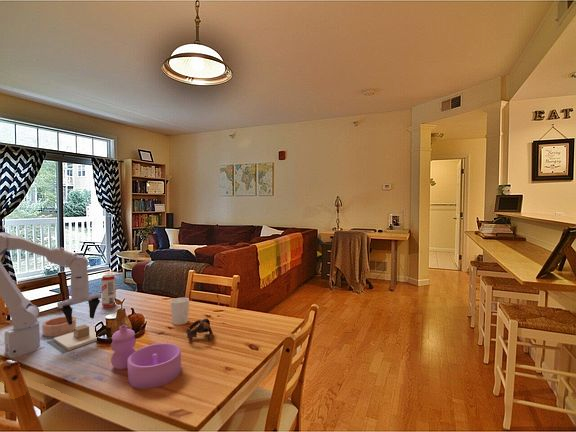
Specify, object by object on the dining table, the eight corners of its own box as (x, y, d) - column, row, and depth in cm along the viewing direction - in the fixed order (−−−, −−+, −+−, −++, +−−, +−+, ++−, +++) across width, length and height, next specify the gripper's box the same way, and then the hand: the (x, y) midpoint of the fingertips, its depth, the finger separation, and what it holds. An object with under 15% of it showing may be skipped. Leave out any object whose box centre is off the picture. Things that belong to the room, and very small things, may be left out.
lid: (68, 350, 110) (67, 338, 110) (53, 340, 118) (53, 329, 118) (108, 336, 122) (108, 325, 122) (93, 328, 130) (92, 317, 130)
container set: (191, 366, 100) (190, 327, 99) (154, 394, 86) (153, 348, 85) (135, 352, 109) (134, 316, 109) (94, 375, 95) (93, 334, 95)
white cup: (185, 325, 133) (185, 303, 133) (168, 325, 134) (167, 303, 133) (191, 318, 141) (191, 297, 141) (175, 318, 141) (174, 297, 141)
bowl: (48, 339, 120) (48, 328, 120) (39, 332, 126) (38, 322, 126) (80, 330, 129) (79, 319, 129) (69, 324, 135) (69, 314, 135)
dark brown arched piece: (211, 345, 116) (199, 328, 114) (191, 353, 118) (179, 337, 116) (220, 325, 127) (209, 309, 125) (201, 333, 129) (191, 318, 127)
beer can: (105, 309, 154) (104, 277, 154) (100, 306, 158) (99, 276, 157) (118, 305, 159) (117, 275, 159) (112, 303, 163) (112, 273, 162)
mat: (62, 354, 108) (62, 353, 108) (46, 342, 117) (46, 341, 117) (115, 336, 123) (115, 335, 123) (97, 327, 132) (97, 326, 132)
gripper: (62, 293, 111) (63, 329, 111) (104, 284, 123) (105, 317, 123) (54, 290, 115) (56, 325, 116) (96, 281, 127) (97, 313, 127)
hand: (81, 320), depth 120 cm, fingers open, 7 cm apart
